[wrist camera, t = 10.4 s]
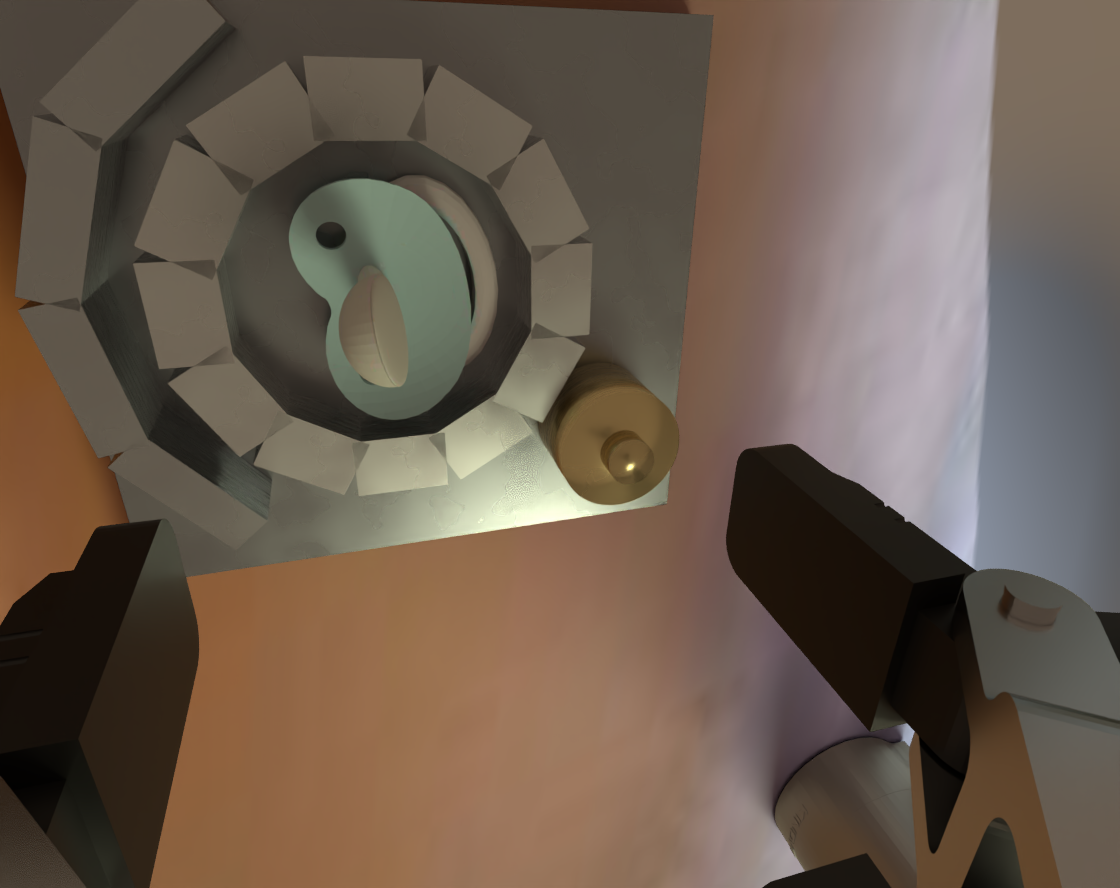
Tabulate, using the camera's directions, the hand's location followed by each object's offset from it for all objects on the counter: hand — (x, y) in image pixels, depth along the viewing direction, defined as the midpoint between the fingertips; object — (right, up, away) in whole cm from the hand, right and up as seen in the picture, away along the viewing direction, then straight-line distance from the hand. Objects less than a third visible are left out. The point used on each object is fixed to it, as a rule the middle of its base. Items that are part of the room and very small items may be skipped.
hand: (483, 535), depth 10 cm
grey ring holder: (-4, +6, +15) cm, 17 cm away
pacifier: (-4, +7, +13) cm, 15 cm away
